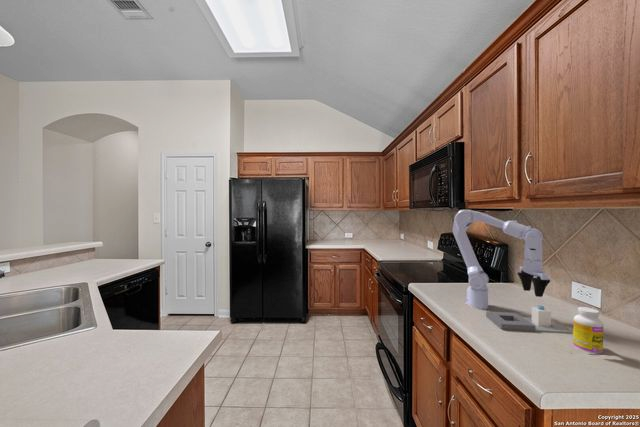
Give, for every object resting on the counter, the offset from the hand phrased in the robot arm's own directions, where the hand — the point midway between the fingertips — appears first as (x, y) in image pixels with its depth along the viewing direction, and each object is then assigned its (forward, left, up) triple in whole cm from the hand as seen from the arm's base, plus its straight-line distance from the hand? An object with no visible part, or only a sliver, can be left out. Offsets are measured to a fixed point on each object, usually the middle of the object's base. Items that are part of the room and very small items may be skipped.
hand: (532, 293), depth 109 cm
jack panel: (+8, -7, -10) cm, 15 cm away
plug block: (+8, -2, -10) cm, 13 cm away
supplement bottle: (+24, +2, -11) cm, 26 cm away
